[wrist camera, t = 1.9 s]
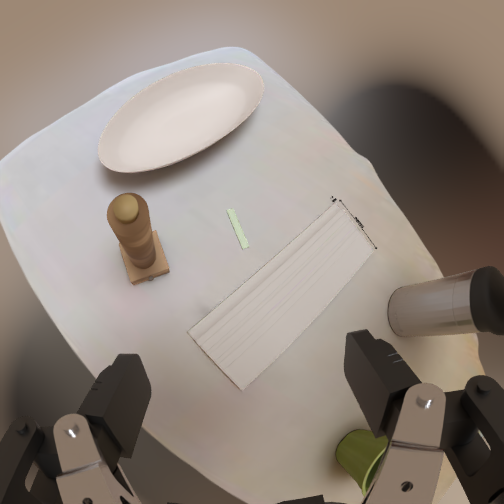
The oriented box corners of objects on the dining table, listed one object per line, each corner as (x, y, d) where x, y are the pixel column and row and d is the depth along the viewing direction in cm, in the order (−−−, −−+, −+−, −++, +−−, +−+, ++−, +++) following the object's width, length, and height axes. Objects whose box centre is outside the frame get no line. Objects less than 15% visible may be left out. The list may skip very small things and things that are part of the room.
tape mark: (232, 208, 40) (233, 208, 40) (249, 246, 39) (249, 246, 39) (226, 210, 39) (226, 210, 39) (242, 249, 39) (242, 249, 39)
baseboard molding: (179, 323, 35) (239, 388, 35) (180, 323, 32) (245, 393, 32) (327, 197, 46) (368, 252, 46) (336, 190, 43) (379, 247, 43)
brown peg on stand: (156, 237, 36) (149, 166, 19) (170, 275, 35) (171, 232, 18) (122, 249, 34) (86, 187, 17) (135, 288, 33) (102, 257, 16)
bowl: (218, 73, 46) (225, 50, 40) (275, 117, 47) (287, 96, 41) (84, 155, 35) (75, 132, 29) (141, 220, 36) (137, 202, 30)
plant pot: (313, 443, 35) (355, 470, 24) (370, 404, 39) (418, 417, 28) (332, 486, 33) (370, 513, 23) (383, 449, 37) (425, 466, 27)
